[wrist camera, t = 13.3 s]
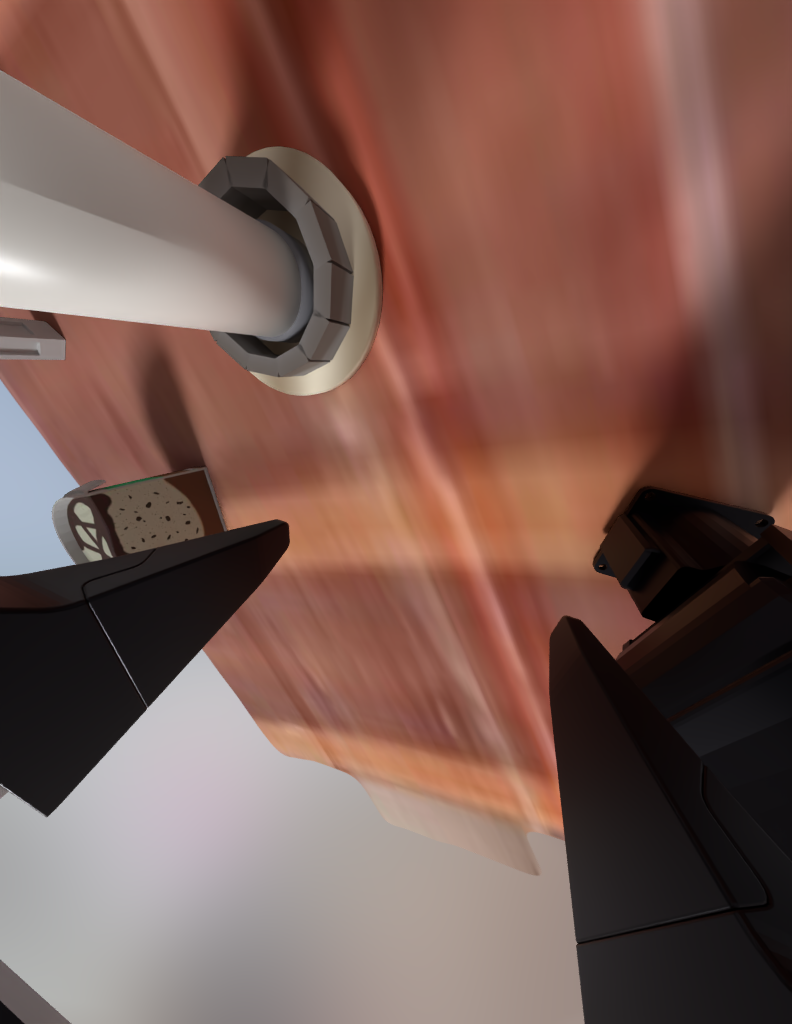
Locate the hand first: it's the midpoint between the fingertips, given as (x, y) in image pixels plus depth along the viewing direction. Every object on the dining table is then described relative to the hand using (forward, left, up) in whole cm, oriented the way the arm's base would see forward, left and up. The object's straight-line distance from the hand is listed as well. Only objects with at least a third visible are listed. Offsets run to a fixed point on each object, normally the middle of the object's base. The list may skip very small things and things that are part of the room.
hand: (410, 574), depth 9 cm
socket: (+13, -8, -13) cm, 20 cm away
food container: (+26, +12, -13) cm, 32 cm away
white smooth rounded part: (+13, -8, -12) cm, 19 cm away
